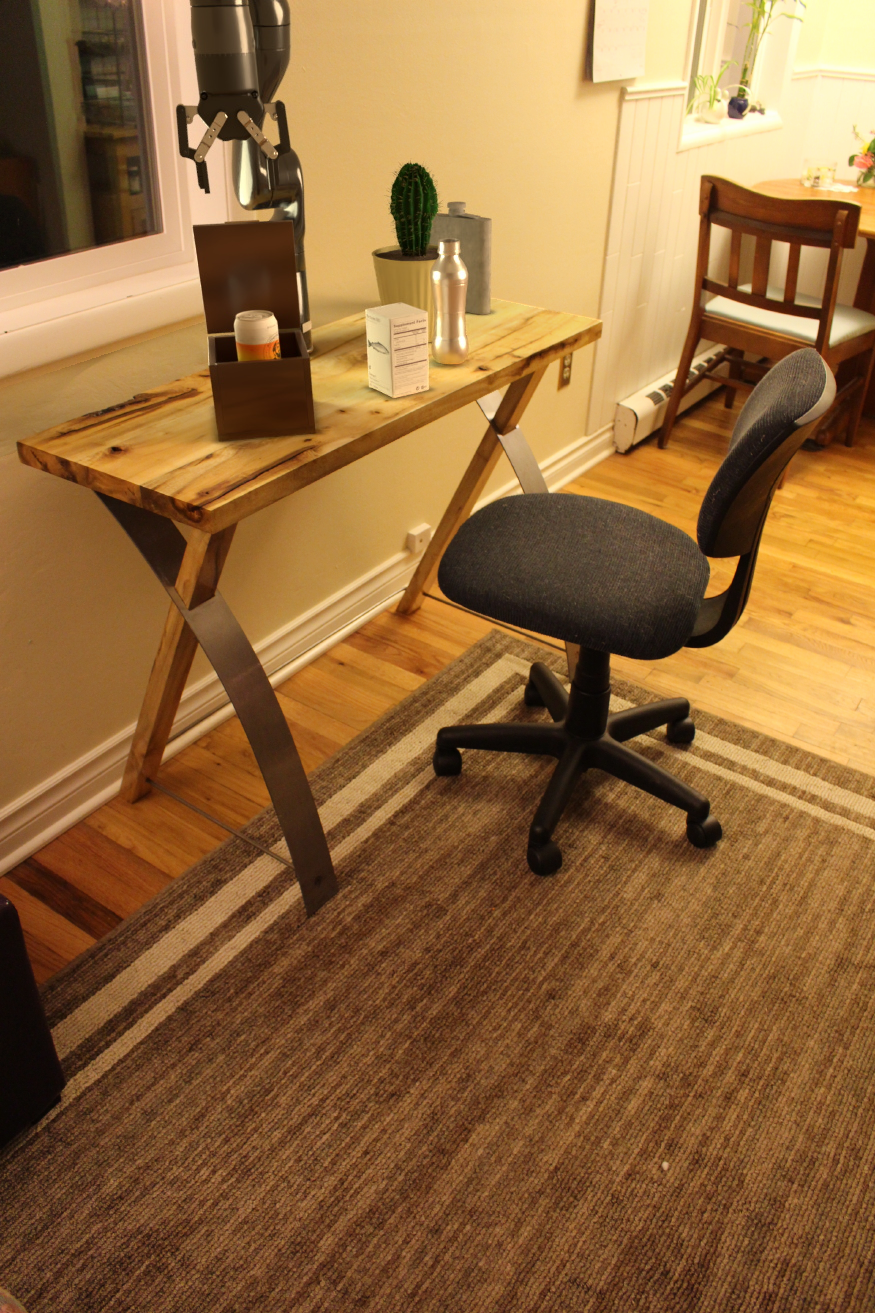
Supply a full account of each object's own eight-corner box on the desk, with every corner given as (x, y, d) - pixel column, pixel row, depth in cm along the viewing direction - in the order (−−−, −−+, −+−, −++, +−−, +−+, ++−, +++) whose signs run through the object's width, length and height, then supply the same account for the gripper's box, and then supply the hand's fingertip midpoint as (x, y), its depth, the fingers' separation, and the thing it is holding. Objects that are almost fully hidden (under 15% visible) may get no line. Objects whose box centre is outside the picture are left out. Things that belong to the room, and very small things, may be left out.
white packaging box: (367, 387, 167) (363, 308, 160) (405, 378, 170) (402, 300, 163) (392, 399, 162) (388, 317, 155) (430, 390, 165) (429, 309, 158)
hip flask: (418, 305, 211) (415, 200, 200) (428, 301, 214) (426, 197, 203) (485, 315, 204) (486, 206, 193) (495, 310, 207) (496, 203, 196)
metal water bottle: (442, 370, 174) (441, 246, 163) (424, 360, 179) (422, 239, 168) (475, 364, 176) (476, 241, 165) (457, 355, 181) (456, 234, 170)
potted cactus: (358, 334, 193) (348, 159, 177) (419, 319, 202) (415, 150, 185) (412, 351, 183) (407, 167, 167) (474, 334, 192) (474, 158, 176)
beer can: (278, 425, 150) (267, 321, 141) (239, 423, 151) (226, 319, 142) (291, 411, 155) (282, 309, 146) (253, 409, 156) (241, 308, 147)
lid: (292, 221, 145) (289, 207, 149) (192, 226, 143) (191, 212, 147) (300, 327, 156) (297, 312, 160) (207, 334, 153) (206, 318, 157)
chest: (316, 432, 150) (309, 357, 144) (219, 441, 147) (208, 365, 142) (306, 400, 162) (300, 329, 156) (217, 407, 160) (207, 336, 154)
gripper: (279, 46, 131) (291, 184, 140) (166, 49, 129) (185, 189, 138) (284, 48, 125) (296, 193, 134) (164, 51, 123) (185, 198, 132)
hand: (240, 191), depth 136 cm, fingers open, 8 cm apart
